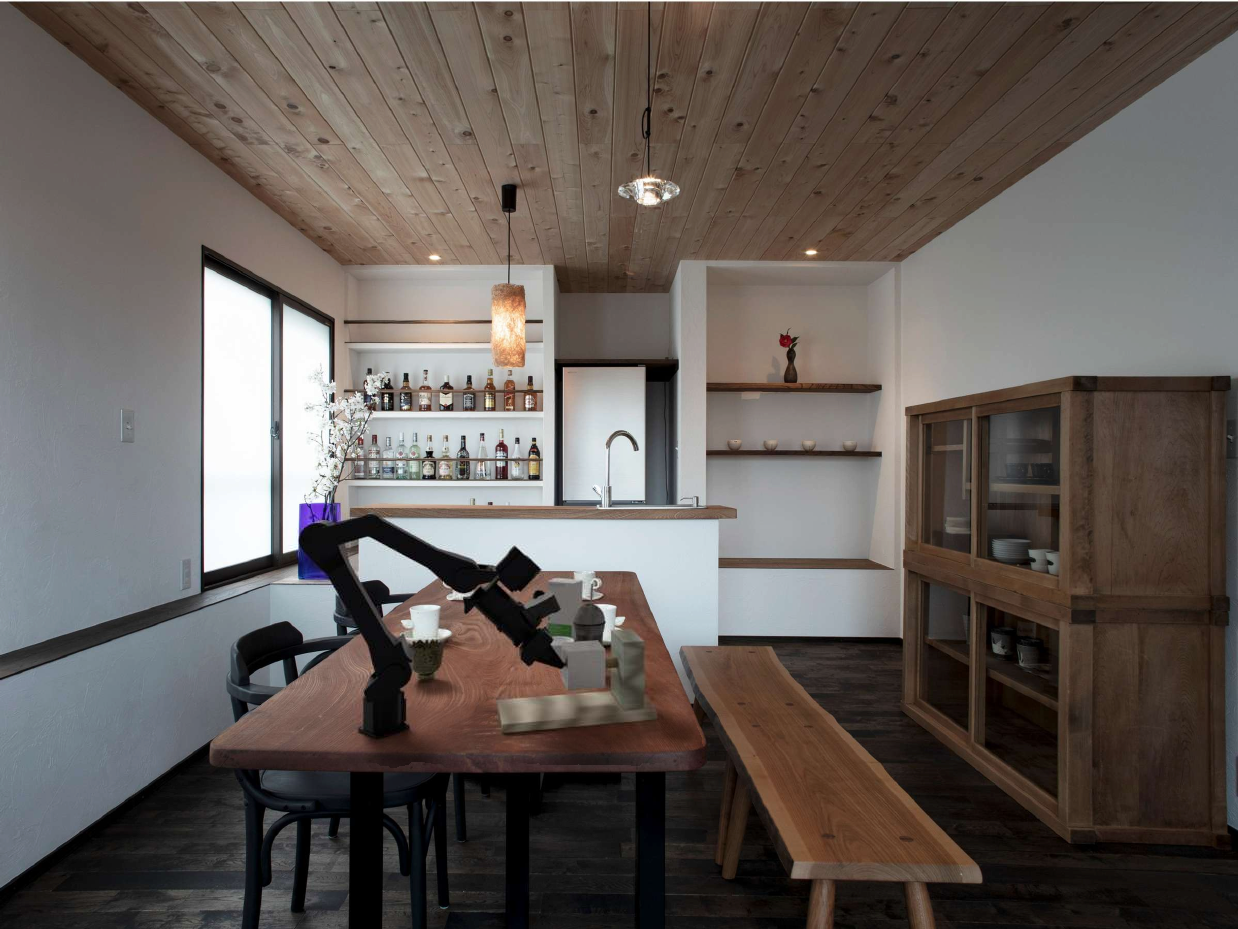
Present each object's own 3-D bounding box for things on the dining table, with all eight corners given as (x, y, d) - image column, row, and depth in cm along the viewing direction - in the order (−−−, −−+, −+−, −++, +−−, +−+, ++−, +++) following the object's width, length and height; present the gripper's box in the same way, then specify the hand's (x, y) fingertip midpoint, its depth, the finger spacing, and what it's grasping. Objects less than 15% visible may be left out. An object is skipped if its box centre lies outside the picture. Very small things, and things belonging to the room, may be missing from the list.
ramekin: (540, 664, 161) (540, 646, 161) (534, 655, 170) (534, 637, 170) (577, 662, 164) (577, 643, 164) (570, 652, 172) (570, 635, 172)
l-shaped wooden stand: (502, 733, 119) (502, 652, 120) (497, 707, 132) (497, 634, 132) (657, 719, 126) (657, 642, 126) (638, 696, 139) (638, 626, 139)
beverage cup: (566, 676, 152) (566, 585, 152) (583, 667, 158) (583, 580, 159) (595, 681, 149) (595, 588, 149) (611, 672, 155) (611, 583, 155)
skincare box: (545, 639, 185) (545, 581, 185) (554, 633, 191) (554, 577, 191) (574, 641, 182) (574, 582, 182) (583, 635, 189) (583, 578, 189)
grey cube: (567, 690, 125) (567, 652, 125) (561, 679, 132) (561, 642, 132) (605, 687, 127) (605, 649, 127) (597, 676, 134) (597, 640, 134)
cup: (434, 686, 145) (434, 648, 145) (401, 684, 147) (402, 646, 147) (449, 675, 152) (449, 639, 152) (419, 673, 154) (419, 637, 154)
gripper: (540, 586, 118) (603, 646, 121) (528, 570, 136) (583, 623, 139) (494, 635, 116) (559, 695, 119) (488, 613, 135) (544, 665, 137)
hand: (563, 666), depth 129 cm, fingers closed, pressing on grey cube
